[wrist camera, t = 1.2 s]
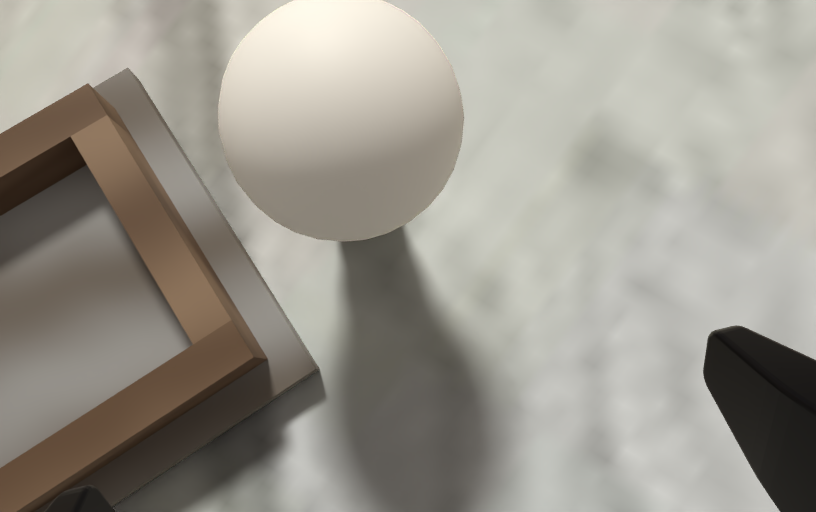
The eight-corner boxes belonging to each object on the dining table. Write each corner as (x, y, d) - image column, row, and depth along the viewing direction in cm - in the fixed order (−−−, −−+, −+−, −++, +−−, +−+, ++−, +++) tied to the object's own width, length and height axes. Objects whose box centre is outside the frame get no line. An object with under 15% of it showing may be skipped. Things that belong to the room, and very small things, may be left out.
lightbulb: (363, 320, 23) (321, 267, 12) (252, 207, 23) (118, 61, 13) (478, 207, 23) (537, 61, 13) (366, 101, 24) (332, -120, 14)
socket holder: (319, 369, 22) (306, 368, 19) (-22, 595, 21) (-92, 630, 18) (139, 80, 24) (102, 39, 22) (-180, 265, 23) (-267, 249, 20)
